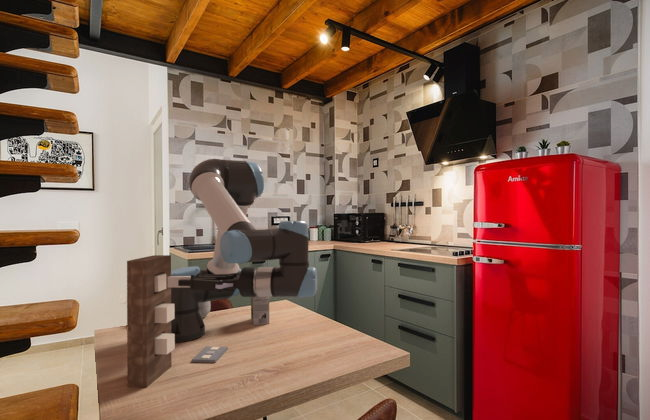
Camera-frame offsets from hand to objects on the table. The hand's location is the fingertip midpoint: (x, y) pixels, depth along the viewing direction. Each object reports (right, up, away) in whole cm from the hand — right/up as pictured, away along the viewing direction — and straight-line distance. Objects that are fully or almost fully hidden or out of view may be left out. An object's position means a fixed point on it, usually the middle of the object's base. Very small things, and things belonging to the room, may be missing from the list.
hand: (169, 281), depth 93 cm
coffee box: (+15, -25, +47) cm, 55 cm away
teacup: (-12, -26, +55) cm, 62 cm away
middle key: (-2, -10, 0) cm, 10 cm away
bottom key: (-1, -18, 0) cm, 18 cm away
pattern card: (+7, -25, +13) cm, 29 cm away
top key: (-4, -2, 0) cm, 5 cm away
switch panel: (-5, -25, 0) cm, 25 cm away
